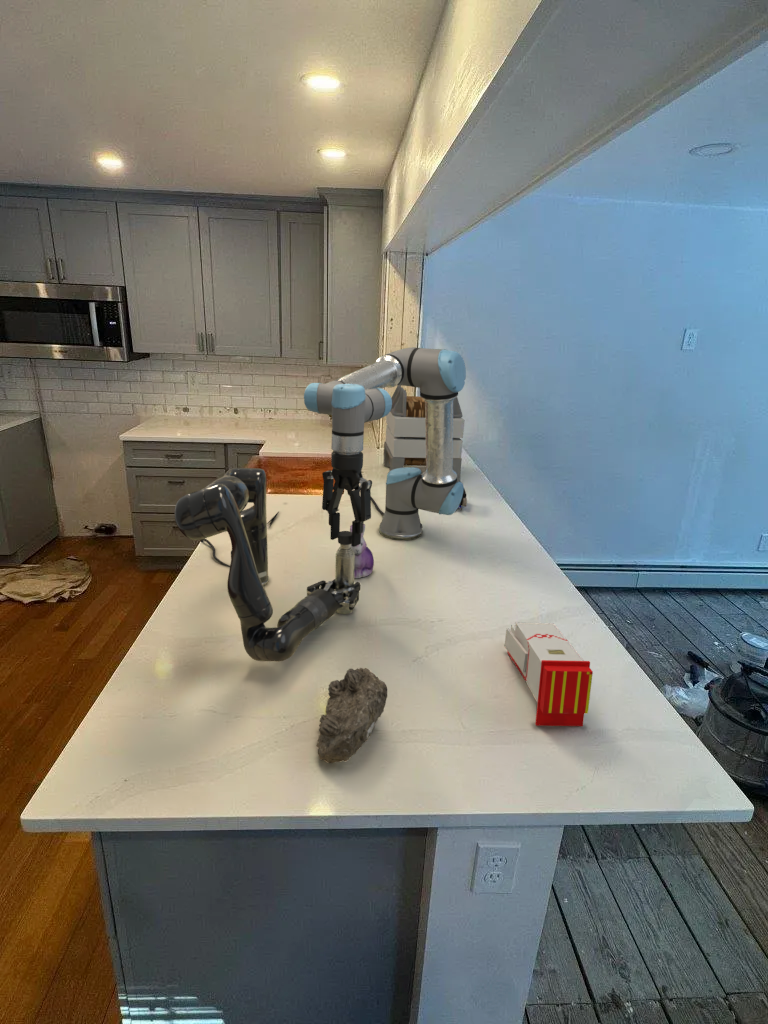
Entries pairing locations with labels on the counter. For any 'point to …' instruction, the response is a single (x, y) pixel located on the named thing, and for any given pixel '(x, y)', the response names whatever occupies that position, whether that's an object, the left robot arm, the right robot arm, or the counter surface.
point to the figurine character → (463, 500)
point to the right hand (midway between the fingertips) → (345, 541)
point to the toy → (551, 672)
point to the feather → (272, 520)
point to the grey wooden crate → (415, 432)
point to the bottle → (344, 572)
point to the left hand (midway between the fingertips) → (349, 582)
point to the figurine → (362, 558)
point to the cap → (345, 537)
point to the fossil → (350, 714)
